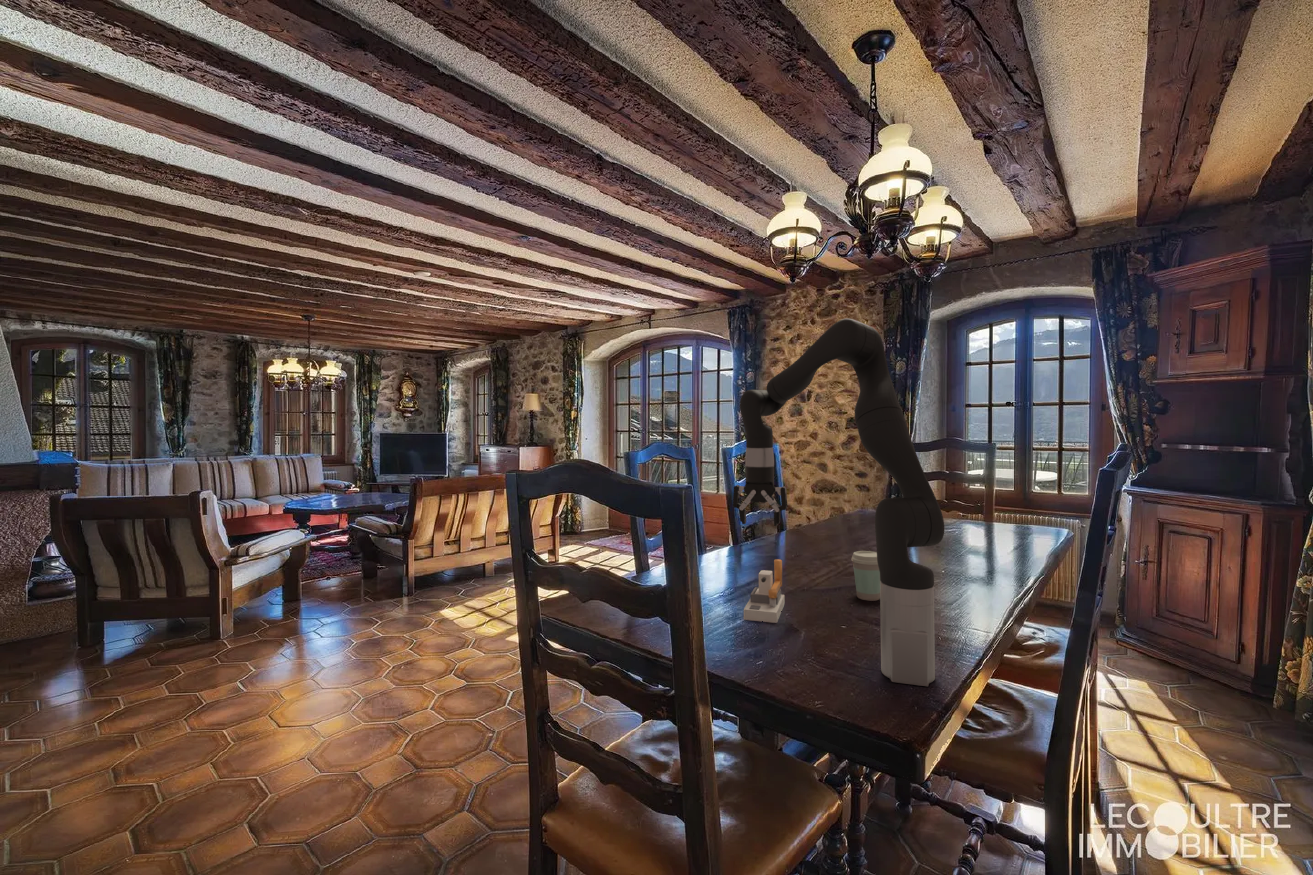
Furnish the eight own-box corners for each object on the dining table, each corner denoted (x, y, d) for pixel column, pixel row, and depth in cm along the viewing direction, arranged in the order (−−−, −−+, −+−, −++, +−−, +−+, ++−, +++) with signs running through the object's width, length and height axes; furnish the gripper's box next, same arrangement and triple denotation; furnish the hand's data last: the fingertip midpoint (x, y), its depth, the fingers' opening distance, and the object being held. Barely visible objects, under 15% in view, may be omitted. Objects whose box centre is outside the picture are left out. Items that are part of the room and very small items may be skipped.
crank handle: (776, 598, 135) (775, 571, 135) (768, 597, 136) (767, 570, 136) (783, 583, 148) (782, 558, 148) (775, 583, 148) (775, 558, 148)
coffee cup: (887, 595, 152) (887, 552, 151) (881, 604, 144) (881, 558, 144) (855, 591, 156) (855, 549, 156) (848, 599, 149) (847, 555, 149)
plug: (773, 605, 137) (773, 577, 137) (753, 603, 139) (753, 575, 139) (777, 597, 143) (776, 570, 143) (757, 595, 145) (757, 569, 145)
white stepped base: (776, 622, 132) (776, 604, 132) (743, 619, 134) (743, 601, 134) (784, 604, 146) (784, 587, 146) (754, 601, 148) (754, 584, 148)
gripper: (730, 465, 146) (730, 525, 147) (784, 466, 141) (785, 528, 142) (736, 462, 153) (736, 520, 154) (788, 463, 148) (788, 523, 149)
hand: (759, 524), depth 148 cm, fingers open, 8 cm apart
